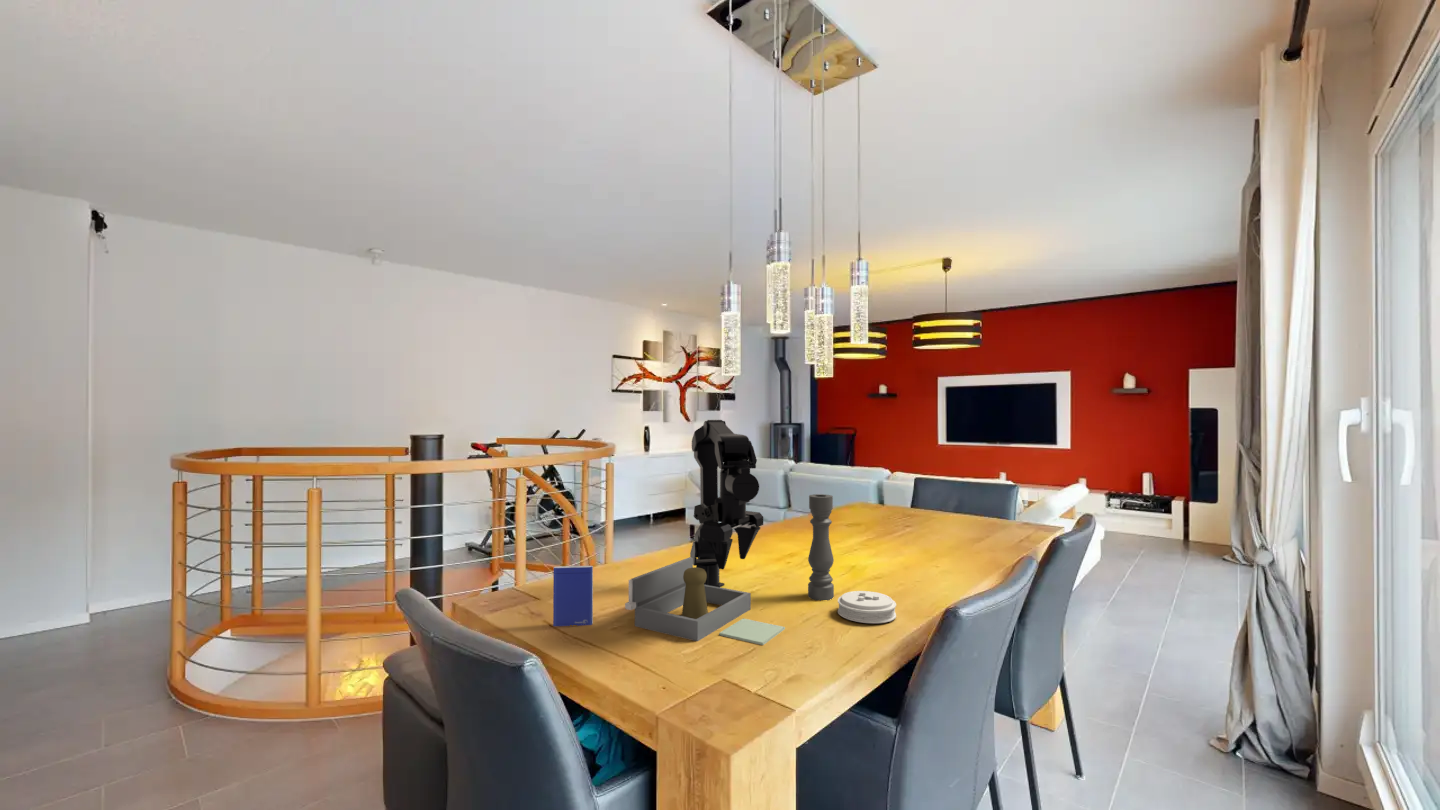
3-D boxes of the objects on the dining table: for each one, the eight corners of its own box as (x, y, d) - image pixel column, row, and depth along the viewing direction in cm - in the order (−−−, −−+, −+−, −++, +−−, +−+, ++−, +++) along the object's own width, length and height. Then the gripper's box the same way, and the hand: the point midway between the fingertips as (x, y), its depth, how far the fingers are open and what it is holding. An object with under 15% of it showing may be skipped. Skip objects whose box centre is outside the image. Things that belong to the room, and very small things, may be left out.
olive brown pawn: (688, 624, 129) (688, 573, 129) (676, 616, 135) (676, 566, 135) (713, 620, 132) (713, 570, 132) (701, 612, 138) (701, 563, 138)
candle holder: (837, 596, 149) (837, 495, 149) (827, 603, 144) (827, 498, 144) (814, 592, 152) (814, 493, 152) (803, 599, 147) (803, 496, 147)
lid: (906, 625, 130) (906, 602, 130) (851, 629, 127) (851, 605, 127) (879, 606, 142) (879, 585, 142) (829, 610, 140) (829, 588, 140)
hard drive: (592, 625, 129) (592, 567, 129) (552, 626, 128) (553, 568, 128) (592, 622, 131) (593, 565, 131) (554, 624, 130) (554, 566, 130)
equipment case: (688, 598, 148) (688, 557, 148) (750, 610, 139) (750, 566, 139) (625, 627, 128) (625, 580, 128) (693, 644, 119) (693, 593, 119)
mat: (743, 621, 132) (743, 618, 132) (784, 629, 126) (784, 627, 126) (719, 635, 123) (719, 632, 123) (762, 645, 118) (762, 642, 118)
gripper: (723, 484, 144) (722, 549, 145) (678, 495, 128) (677, 568, 129) (764, 488, 138) (764, 556, 139) (723, 501, 122) (722, 577, 123)
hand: (732, 563), depth 132 cm, fingers open, 9 cm apart
